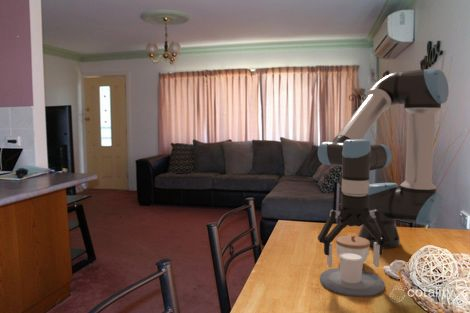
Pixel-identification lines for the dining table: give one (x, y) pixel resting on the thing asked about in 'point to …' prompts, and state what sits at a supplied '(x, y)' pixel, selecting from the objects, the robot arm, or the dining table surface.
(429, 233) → the dining table surface
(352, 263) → the white cup
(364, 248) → the lidded jar
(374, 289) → the dish
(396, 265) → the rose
